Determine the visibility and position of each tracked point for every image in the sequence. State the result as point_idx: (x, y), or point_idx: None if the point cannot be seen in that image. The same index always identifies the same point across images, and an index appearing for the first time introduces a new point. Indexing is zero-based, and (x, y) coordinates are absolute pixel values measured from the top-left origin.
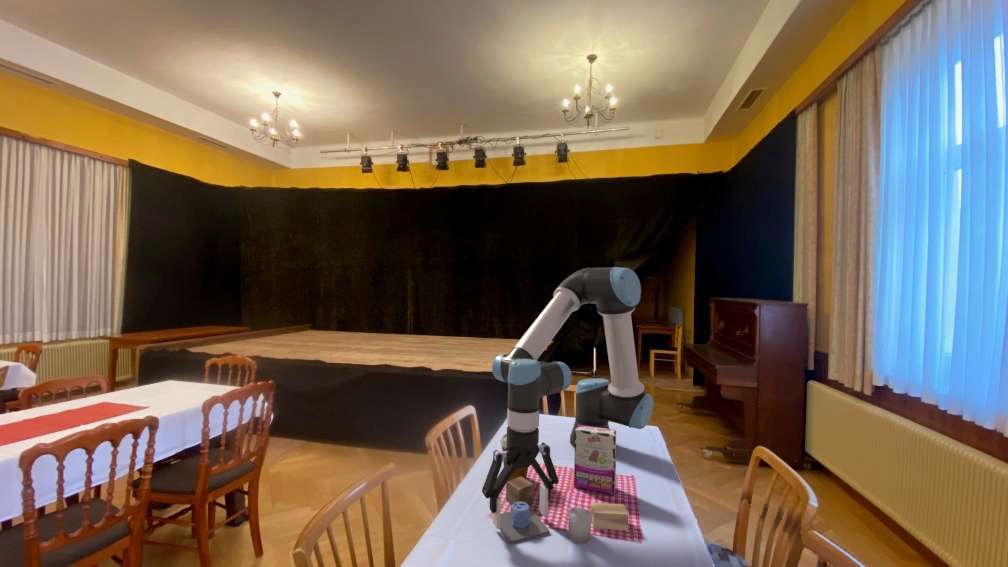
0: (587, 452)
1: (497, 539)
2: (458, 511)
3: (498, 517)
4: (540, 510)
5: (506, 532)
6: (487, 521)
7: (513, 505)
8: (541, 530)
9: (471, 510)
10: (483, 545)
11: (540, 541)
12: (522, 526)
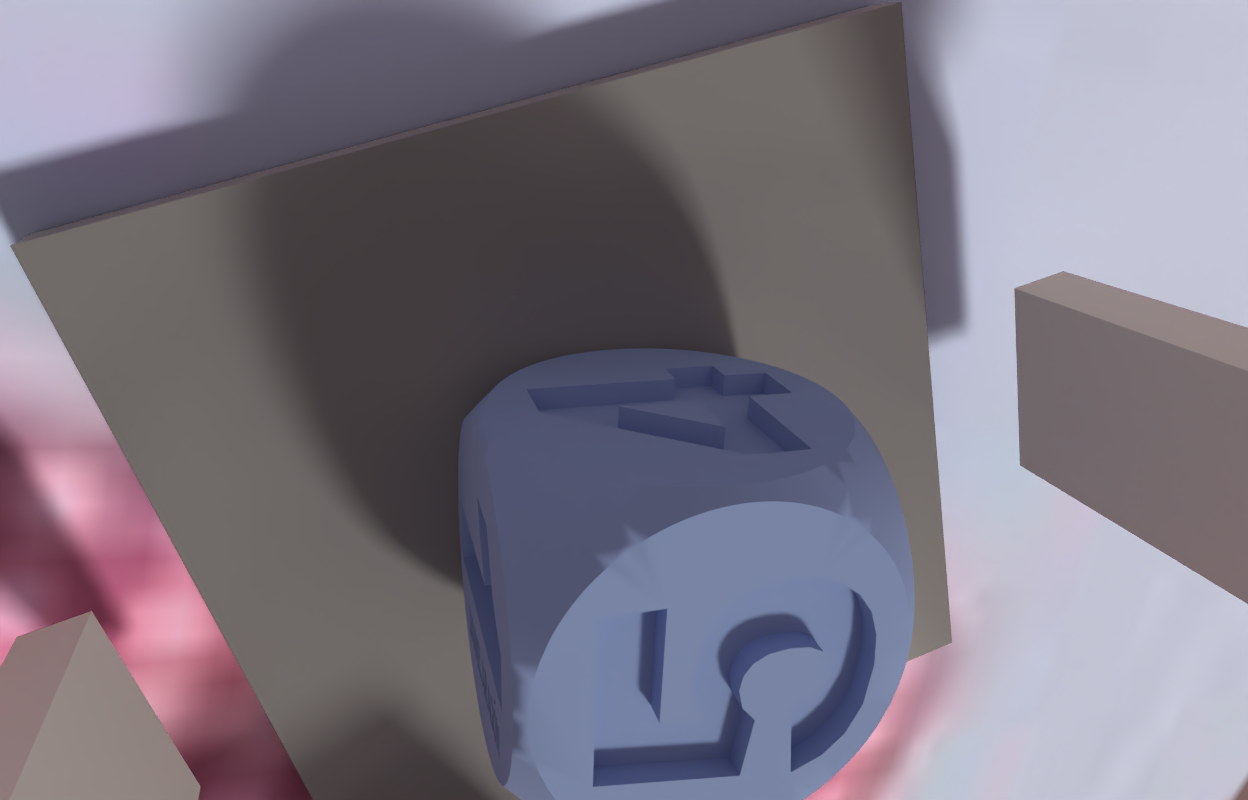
0: None
1: (1002, 159)
2: (1228, 697)
3: (1222, 330)
4: (173, 780)
5: (884, 255)
6: (1008, 550)
7: (879, 689)
8: (218, 279)
9: (1107, 730)
10: (1210, 43)
11: (279, 4)
12: (613, 357)
